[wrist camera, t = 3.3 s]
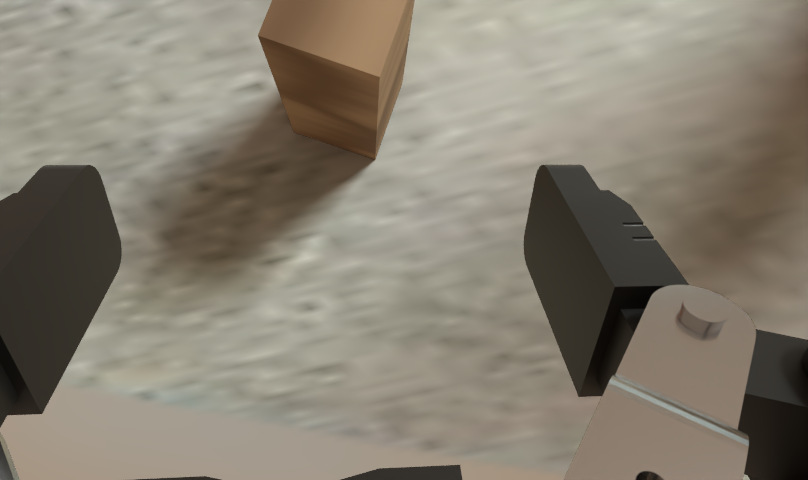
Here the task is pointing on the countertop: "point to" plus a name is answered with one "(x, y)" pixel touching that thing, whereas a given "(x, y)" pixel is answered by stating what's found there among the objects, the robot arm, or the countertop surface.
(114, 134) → the countertop surface
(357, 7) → the pillar
